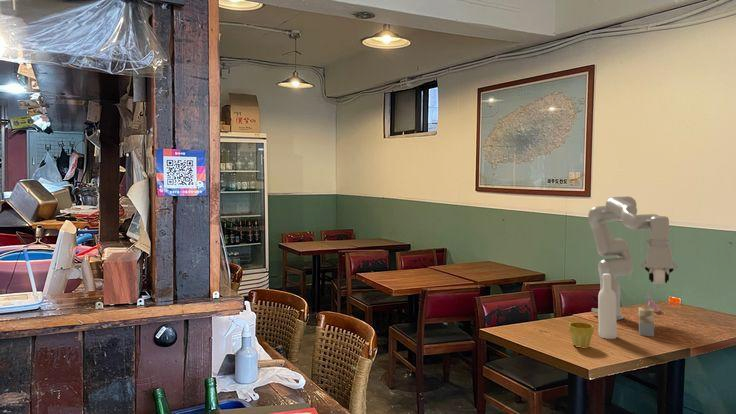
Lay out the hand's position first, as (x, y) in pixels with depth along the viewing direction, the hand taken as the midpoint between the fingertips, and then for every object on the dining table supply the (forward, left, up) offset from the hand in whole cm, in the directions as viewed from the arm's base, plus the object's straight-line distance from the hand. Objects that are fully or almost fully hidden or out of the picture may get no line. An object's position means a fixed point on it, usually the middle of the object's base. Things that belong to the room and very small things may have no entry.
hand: (658, 281), depth 234 cm
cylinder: (0, 0, -1) cm, 1 cm away
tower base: (-5, +5, -27) cm, 28 cm away
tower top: (-5, +5, -21) cm, 22 cm away
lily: (+1, +50, -27) cm, 57 cm away
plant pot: (-33, -23, -27) cm, 48 cm away
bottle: (-22, -5, -27) cm, 35 cm away
